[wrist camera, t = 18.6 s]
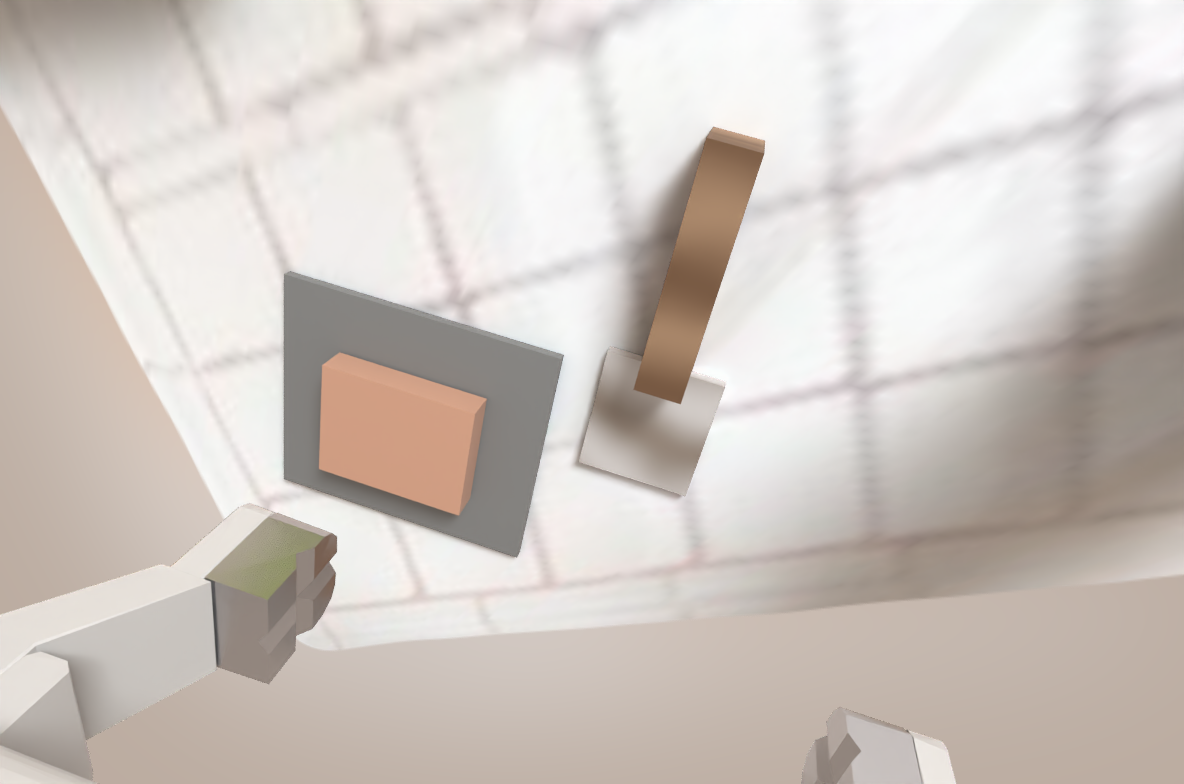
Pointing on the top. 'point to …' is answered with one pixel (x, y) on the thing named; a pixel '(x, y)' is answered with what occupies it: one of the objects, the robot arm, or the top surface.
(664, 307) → the turner
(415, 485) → the tile
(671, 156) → the top surface
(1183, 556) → the top surface
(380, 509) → the mat
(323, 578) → the robot arm
